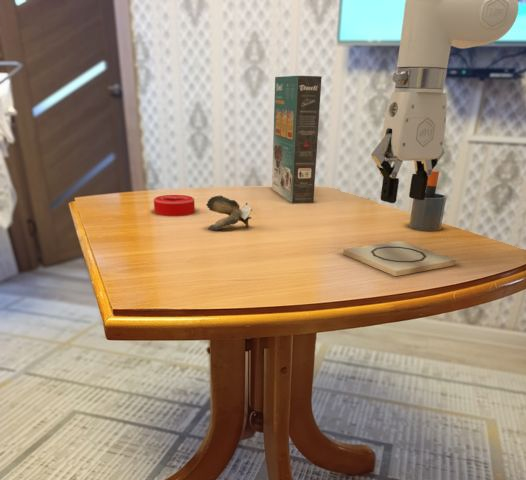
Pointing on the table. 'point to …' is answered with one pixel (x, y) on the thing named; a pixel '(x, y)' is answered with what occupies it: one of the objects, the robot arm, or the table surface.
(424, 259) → the beige square tile
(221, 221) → the eagle figurine
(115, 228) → the table surface
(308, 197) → the cake mix box
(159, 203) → the red tape roll
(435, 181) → the marker
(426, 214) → the pen cup
